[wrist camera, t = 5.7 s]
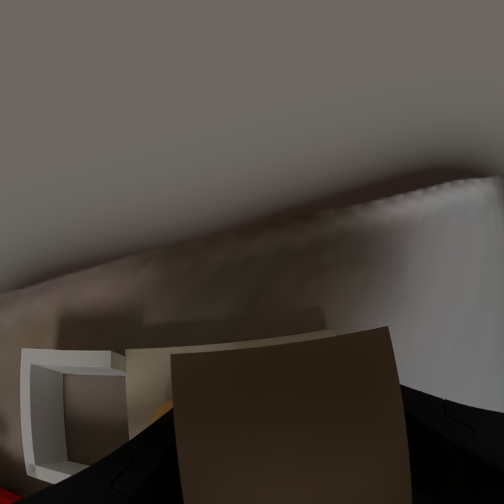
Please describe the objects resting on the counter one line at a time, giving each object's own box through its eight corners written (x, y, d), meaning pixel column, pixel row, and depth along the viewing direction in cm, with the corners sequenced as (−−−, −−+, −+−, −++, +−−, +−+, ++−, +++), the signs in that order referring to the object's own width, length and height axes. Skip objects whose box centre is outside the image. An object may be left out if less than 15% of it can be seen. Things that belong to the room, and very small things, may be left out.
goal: (137, 361, 19) (110, 350, 15) (147, 486, 15) (122, 500, 11) (54, 360, 19) (21, 348, 15) (59, 470, 14) (26, 474, 11)
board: (349, 477, 15) (358, 484, 13) (148, 492, 14) (137, 499, 13) (328, 335, 19) (335, 328, 18) (137, 354, 19) (125, 349, 17)
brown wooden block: (323, 454, 13) (412, 517, 4) (238, 465, 13) (193, 552, 4) (312, 378, 15) (388, 326, 6) (230, 388, 15) (170, 354, 6)
